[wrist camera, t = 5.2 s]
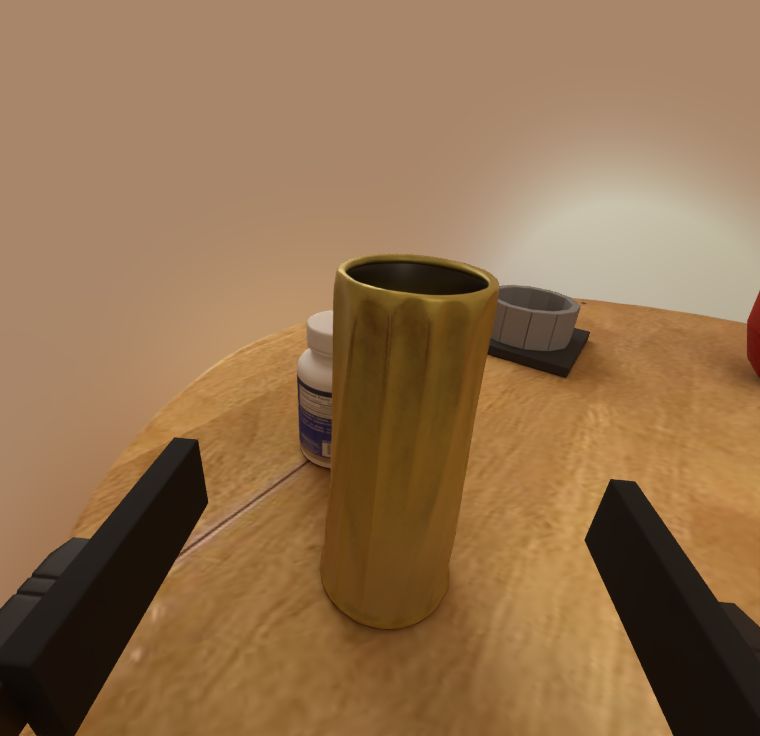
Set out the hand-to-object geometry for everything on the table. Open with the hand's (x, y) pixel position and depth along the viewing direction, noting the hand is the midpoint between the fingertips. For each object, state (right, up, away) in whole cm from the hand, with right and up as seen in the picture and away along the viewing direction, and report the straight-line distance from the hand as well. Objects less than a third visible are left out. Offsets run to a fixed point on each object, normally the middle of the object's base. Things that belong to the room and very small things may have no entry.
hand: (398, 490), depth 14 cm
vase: (0, -6, +6) cm, 9 cm away
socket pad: (+15, +7, +33) cm, 37 cm away
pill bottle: (-3, -1, +14) cm, 15 cm away
